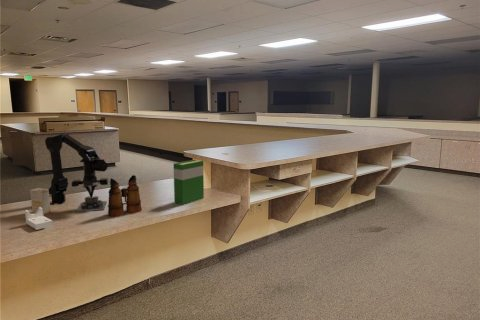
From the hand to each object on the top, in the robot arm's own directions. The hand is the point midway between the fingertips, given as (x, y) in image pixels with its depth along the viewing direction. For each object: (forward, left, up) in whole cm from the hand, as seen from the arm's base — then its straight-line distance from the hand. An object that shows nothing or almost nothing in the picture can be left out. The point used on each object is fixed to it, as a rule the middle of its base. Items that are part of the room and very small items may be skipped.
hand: (91, 196), depth 193 cm
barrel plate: (0, 0, -6) cm, 6 cm away
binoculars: (+19, -14, -6) cm, 24 cm away
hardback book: (+56, +1, -6) cm, 56 cm away
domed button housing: (0, 0, -5) cm, 5 cm away
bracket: (-20, -25, -7) cm, 33 cm away
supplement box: (-25, -4, -6) cm, 26 cm away
